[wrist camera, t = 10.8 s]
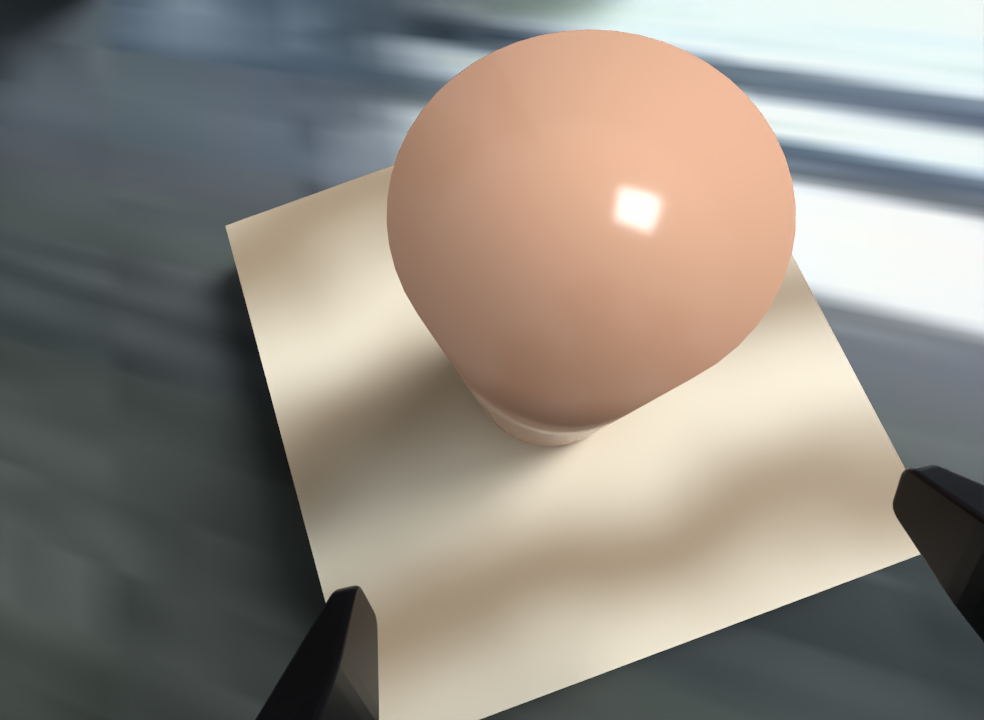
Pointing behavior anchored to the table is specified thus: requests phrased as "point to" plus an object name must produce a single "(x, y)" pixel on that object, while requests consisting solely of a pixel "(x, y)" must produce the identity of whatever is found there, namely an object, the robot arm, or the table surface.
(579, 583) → the birch base plate
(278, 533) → the table surface
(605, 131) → the peach capsule
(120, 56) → the table surface
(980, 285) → the table surface
